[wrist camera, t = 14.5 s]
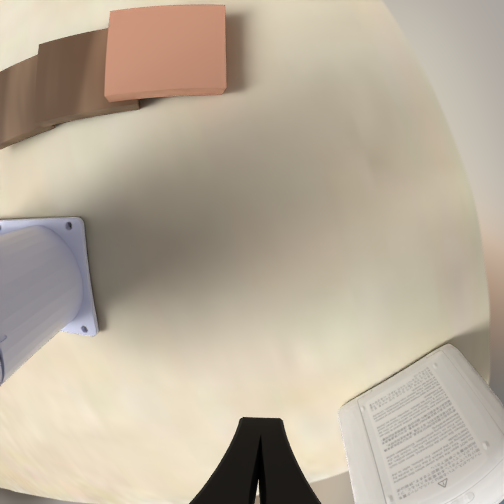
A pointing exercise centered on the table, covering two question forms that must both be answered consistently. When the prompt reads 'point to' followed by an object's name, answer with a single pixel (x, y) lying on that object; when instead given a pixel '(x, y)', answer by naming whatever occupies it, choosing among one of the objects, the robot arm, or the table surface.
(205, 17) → the terracotta domino
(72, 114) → the walnut domino
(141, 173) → the table surface
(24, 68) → the walnut domino
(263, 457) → the robot arm
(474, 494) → the white box with text
